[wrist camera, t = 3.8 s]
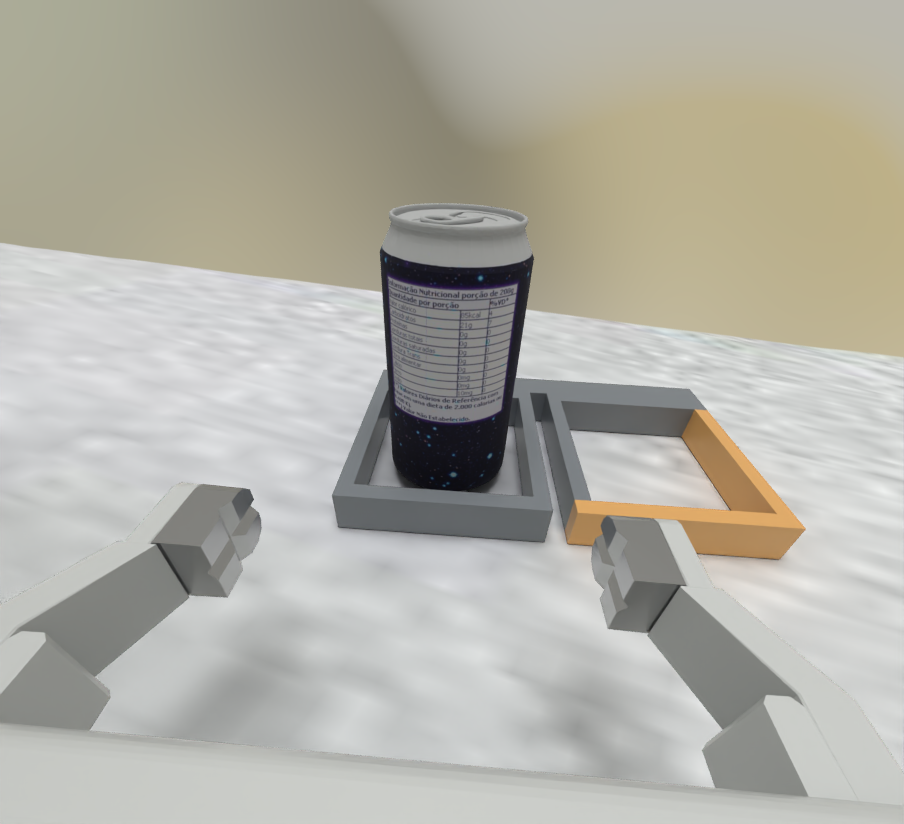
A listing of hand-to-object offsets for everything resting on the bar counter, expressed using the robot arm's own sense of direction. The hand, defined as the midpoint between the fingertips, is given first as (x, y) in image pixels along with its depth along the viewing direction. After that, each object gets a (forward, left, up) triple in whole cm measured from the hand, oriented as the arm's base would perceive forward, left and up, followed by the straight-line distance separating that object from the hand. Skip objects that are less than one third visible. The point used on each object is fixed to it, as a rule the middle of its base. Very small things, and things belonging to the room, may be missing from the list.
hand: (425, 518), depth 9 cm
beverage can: (0, +9, -7) cm, 12 cm away
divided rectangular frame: (+5, +9, -7) cm, 13 cm away
